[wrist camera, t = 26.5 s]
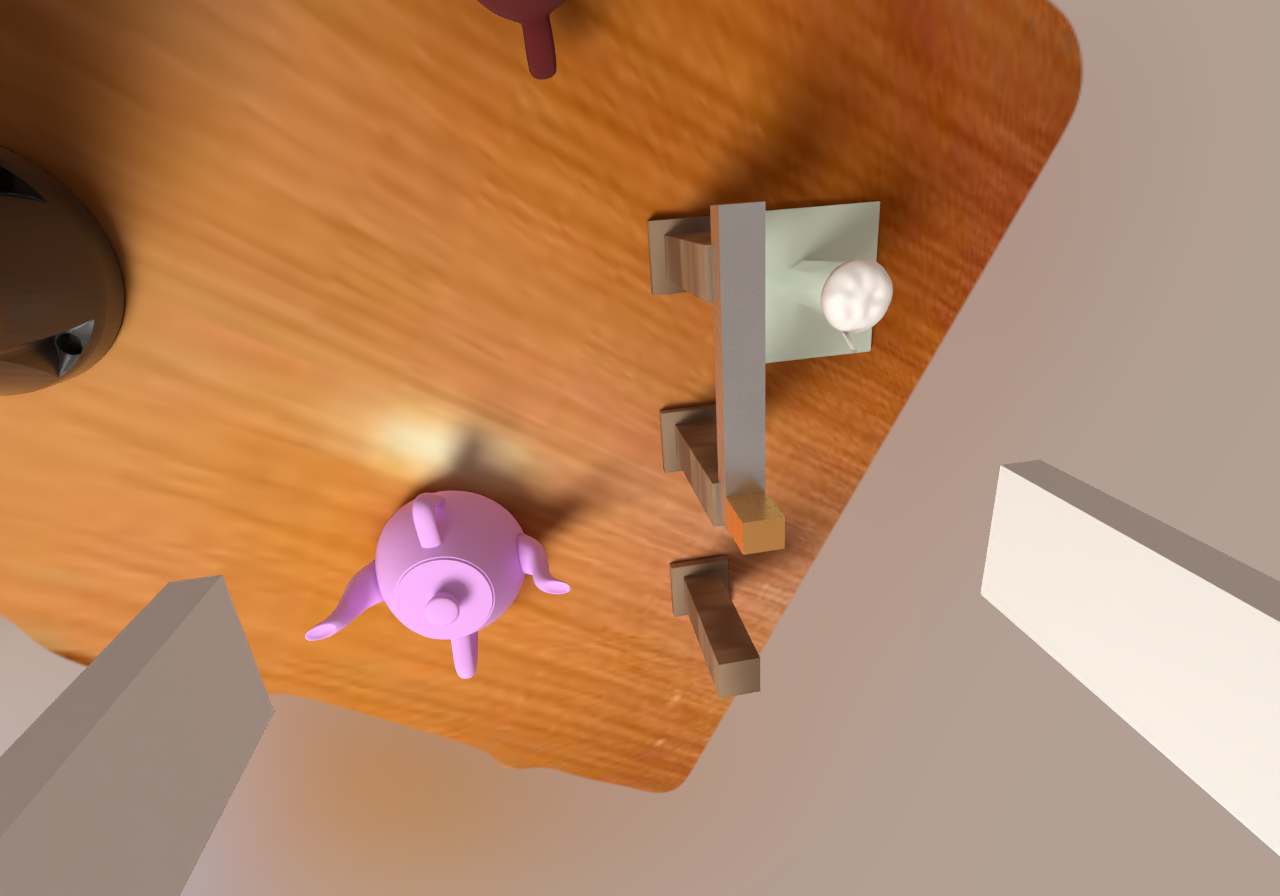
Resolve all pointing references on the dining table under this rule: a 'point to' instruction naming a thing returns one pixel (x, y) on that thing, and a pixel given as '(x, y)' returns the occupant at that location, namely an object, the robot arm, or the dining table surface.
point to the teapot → (446, 571)
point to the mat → (807, 239)
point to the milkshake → (842, 292)
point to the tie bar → (742, 375)
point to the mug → (532, 30)
